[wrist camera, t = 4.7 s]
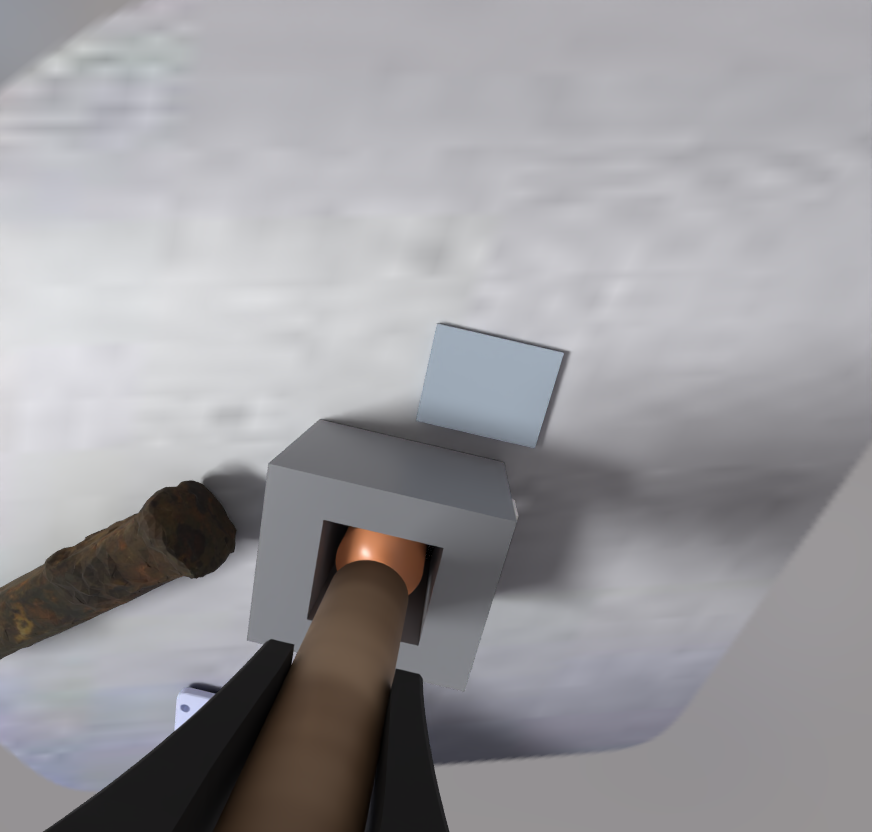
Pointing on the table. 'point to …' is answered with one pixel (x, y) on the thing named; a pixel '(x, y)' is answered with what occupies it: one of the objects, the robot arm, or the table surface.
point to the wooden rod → (327, 714)
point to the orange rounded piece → (384, 553)
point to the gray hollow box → (392, 515)
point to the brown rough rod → (118, 565)
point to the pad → (488, 385)
